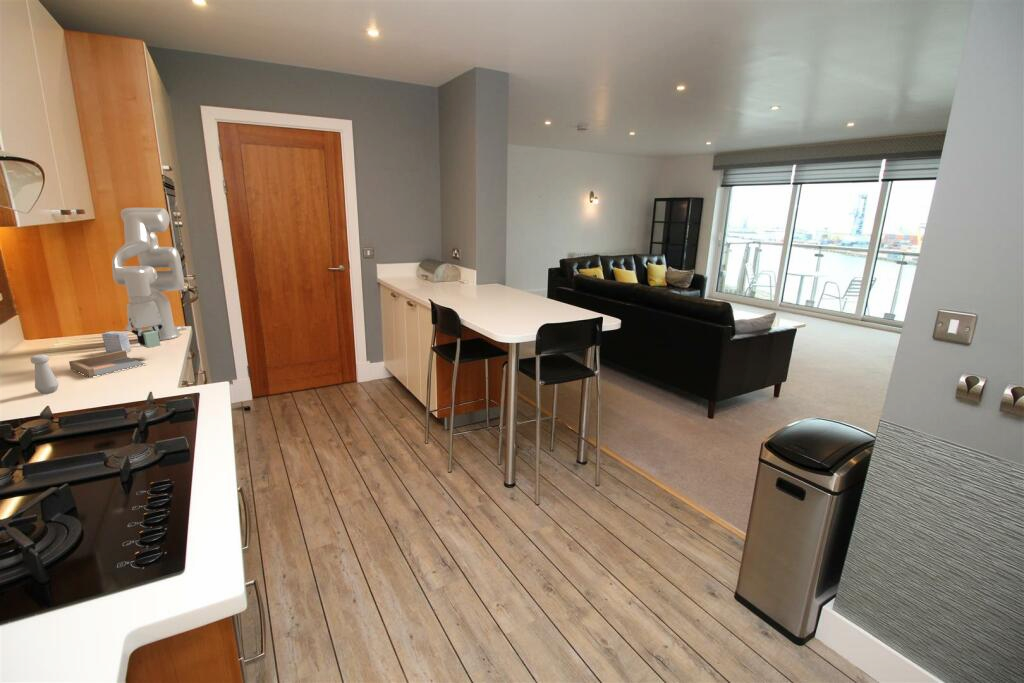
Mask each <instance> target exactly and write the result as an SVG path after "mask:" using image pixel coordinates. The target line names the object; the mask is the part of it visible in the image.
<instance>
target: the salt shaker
mask: <svg viewBox="0 0 1024 683" xmlns="http://www.w3.org/2000/svg"><path fill="white" fill-rule="evenodd" d="M48 361H49V356H48V355H47V354H43V353H42V354H36V355H32V356H31V357H30V362H31V363H32V365H33V364H34V388H35V390H36V391H38V393H39V394H40V395H48V394H52V393H55V392H56V391H58V388H59V381H58V379H57V377H56V376H55V373H54V372H53V371H52V369H51V366H50V365H49V363H48Z"/></svg>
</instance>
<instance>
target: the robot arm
mask: <svg viewBox="0 0 1024 683" xmlns="http://www.w3.org/2000/svg"><path fill="white" fill-rule="evenodd" d="M120 217H121V220H122V221H123V224H124V225H123V228H124V229H123V230H124V244H123V245H122V246H121V247H120V248H119V249H117V251H116V252H115V253H114V255H113V257H112V260H111V269H112V278H113V280H114V282H115V283H116V285H120V286H125V288H126V292H127V297H128V302H129V303H127V305H126V308H127V309H126V314H127V322H128V323H127V325H126V326H125V329H124V330H125V331H126V332H130V333H132V334H134V335H135V336H137V338H136V339H137V342H138V343H139V345H140V344H142V345H145V341H144V336H143V335H142V330H143V329H145V328H149V329H151V330H154V331H157V332H158V336H159V341H166V340H172V339H175V338H176V339H177V338H178V337H180V336H181V335H180V332H181V331H186V330H187V326H185V325H183V326H176V325H175V322H174V318H173V313H172V307H171V302H170V299H169V297H167V296H166V294H164V293H163V292H172V291H181V290H183V289H184V287H185V278H184V271H183V266H182V260H181V256H180V253H179V251H178V249H177V248H176V247H174V246H172V247H171V246H160V245H159V239H158V236H157V234H156V233H164V232H166V231H168V230H167V229H168V228H169V225H170V220H171V219H170V214H169V213H168V210H166V209H165V208H164V207H126V208H124V209H121V211H120ZM133 257H137V259H138V263H139V265H130V266H129V265H128V266H127V265H126V266H123V265H124V263H125V262H126V261H128V260H129V259H131V258H133ZM162 268H165V269H166V268H168V269H169V270H156V269H162Z"/></svg>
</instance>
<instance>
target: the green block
mask: <svg viewBox="0 0 1024 683" xmlns="http://www.w3.org/2000/svg"><path fill="white" fill-rule="evenodd" d="M142 335H143V336H144V341H145V345H142V344H140V343H139V345H140V346H141V347H143V348H145V349H150V348H156V347H159V346H161V340H159V336H158V332H157V331H154V330H151V329H150V328H148V329H142Z"/></svg>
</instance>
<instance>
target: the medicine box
mask: <svg viewBox="0 0 1024 683" xmlns="http://www.w3.org/2000/svg"><path fill="white" fill-rule="evenodd" d="M101 336H102V341H103V344H104V349H105V352H106V353H105V354H108V353H113V352H118V351H123V350H125V351H129V350H131V351H132V348H131V347H132V346H131V342H130V340H129V335H128V331H113V330H112V331H111V330H110V331H108V332H107V331H106V332H103V333H102V334H101ZM129 352H130V351H129Z"/></svg>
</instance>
